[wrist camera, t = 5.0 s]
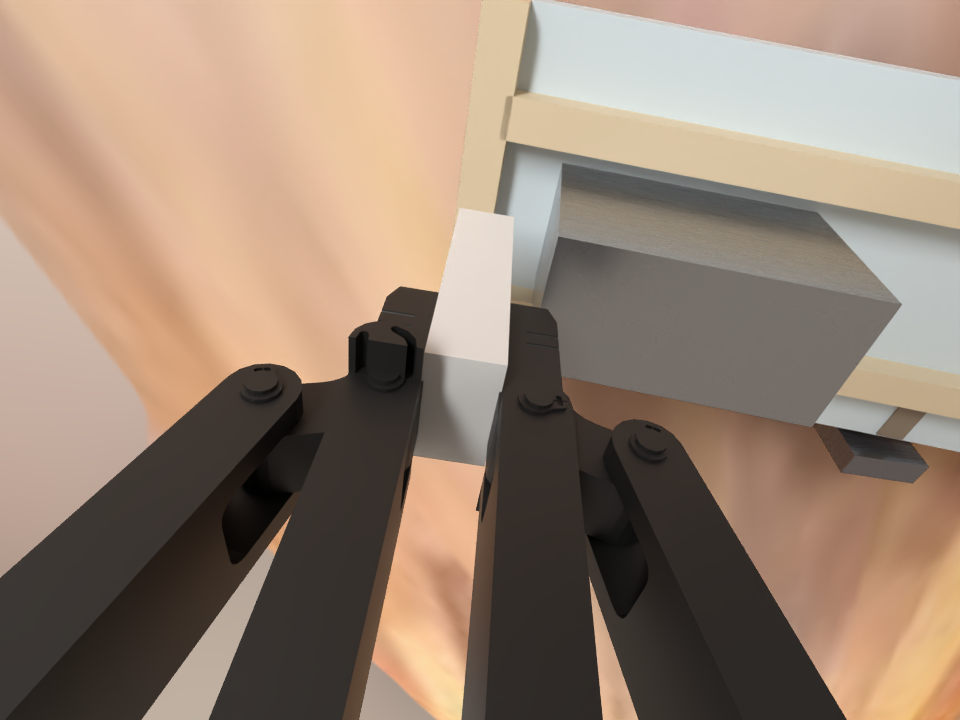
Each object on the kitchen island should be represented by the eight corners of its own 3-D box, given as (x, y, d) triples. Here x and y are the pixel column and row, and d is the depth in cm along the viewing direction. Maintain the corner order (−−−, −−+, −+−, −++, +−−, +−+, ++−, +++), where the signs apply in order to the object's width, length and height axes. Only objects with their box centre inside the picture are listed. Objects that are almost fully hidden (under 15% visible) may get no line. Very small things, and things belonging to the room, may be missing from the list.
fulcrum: (1014, 20, 17) (1197, 50, 13) (1103, 36, 17) (1318, 73, 13) (784, 377, 27) (841, 472, 22) (844, 386, 27) (912, 483, 22)
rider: (562, 162, 17) (558, 236, 13) (817, 212, 17) (902, 304, 12) (535, 274, 19) (524, 368, 15) (758, 319, 19) (811, 427, 15)
